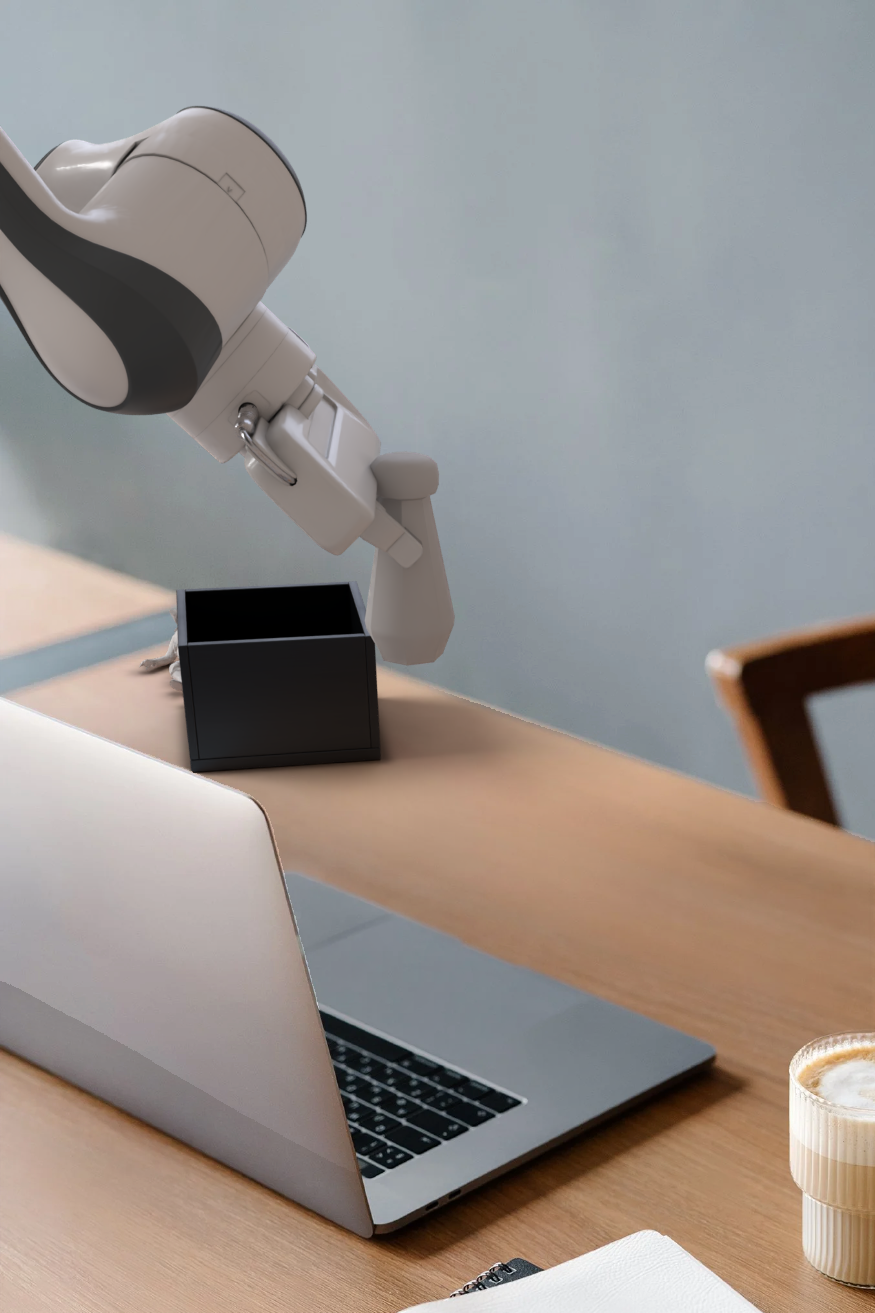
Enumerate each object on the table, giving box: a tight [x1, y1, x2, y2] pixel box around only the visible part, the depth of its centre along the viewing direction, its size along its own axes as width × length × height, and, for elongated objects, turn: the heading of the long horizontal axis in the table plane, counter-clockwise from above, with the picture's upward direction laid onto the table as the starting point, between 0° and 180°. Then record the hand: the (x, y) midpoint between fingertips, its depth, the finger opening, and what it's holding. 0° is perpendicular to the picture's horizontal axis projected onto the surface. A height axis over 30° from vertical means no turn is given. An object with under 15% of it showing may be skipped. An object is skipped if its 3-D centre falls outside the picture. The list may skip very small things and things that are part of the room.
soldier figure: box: [138, 608, 183, 692], centre depth 156 cm, size 8×5×12 cm
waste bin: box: [175, 580, 382, 773], centre depth 142 cm, size 14×14×10 cm
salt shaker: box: [365, 450, 456, 667], centre depth 115 cm, size 6×6×13 cm
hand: (416, 548), depth 115 cm, fingers closed on salt shaker, 3 cm apart
